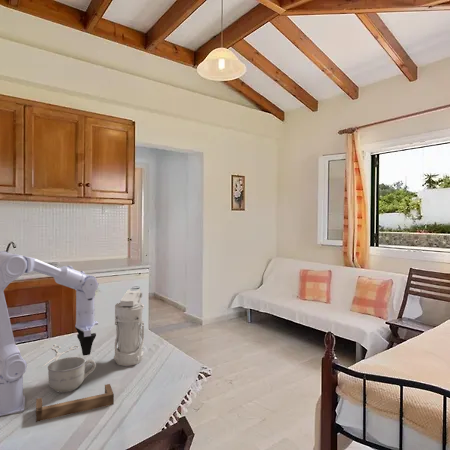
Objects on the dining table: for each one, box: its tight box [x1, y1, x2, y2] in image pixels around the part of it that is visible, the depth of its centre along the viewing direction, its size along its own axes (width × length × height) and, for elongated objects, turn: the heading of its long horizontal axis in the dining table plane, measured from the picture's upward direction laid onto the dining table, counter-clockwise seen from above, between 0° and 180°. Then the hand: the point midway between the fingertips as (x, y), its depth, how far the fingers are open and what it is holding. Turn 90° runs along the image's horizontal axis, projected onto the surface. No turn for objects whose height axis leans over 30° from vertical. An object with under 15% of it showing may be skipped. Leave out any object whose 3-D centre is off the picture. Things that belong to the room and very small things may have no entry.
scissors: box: [41, 343, 80, 368], centre depth 135 cm, size 11×1×20 cm
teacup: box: [47, 356, 97, 393], centre depth 112 cm, size 14×11×8 cm
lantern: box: [113, 288, 145, 367], centre depth 133 cm, size 13×10×25 cm
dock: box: [35, 383, 115, 423], centre depth 102 cm, size 20×7×3 cm, turn 117°
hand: (85, 350), depth 119 cm, fingers open, 7 cm apart
